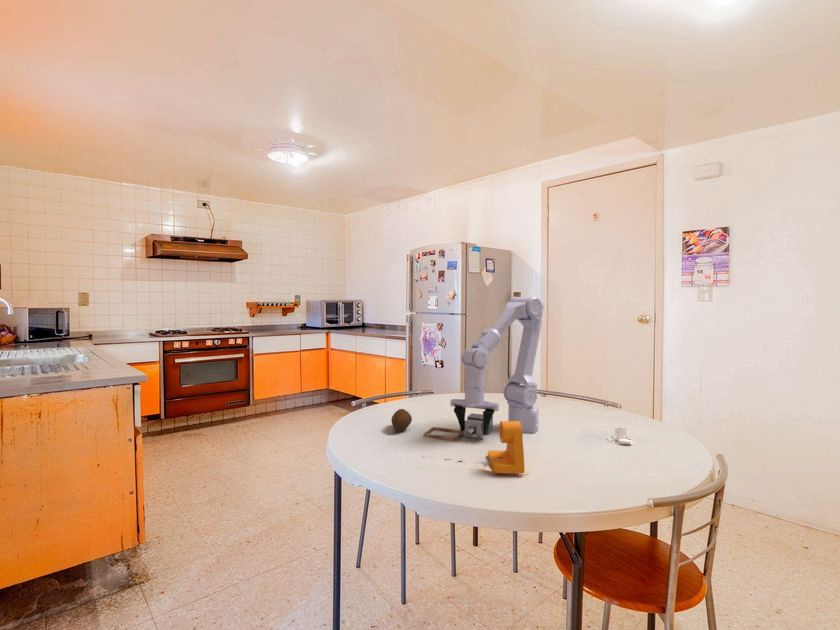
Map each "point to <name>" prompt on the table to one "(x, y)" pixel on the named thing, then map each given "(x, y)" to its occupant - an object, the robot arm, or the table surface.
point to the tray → (427, 434)
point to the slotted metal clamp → (474, 424)
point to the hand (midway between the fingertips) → (473, 432)
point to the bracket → (509, 449)
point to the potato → (401, 419)
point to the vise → (479, 418)
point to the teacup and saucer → (621, 436)
